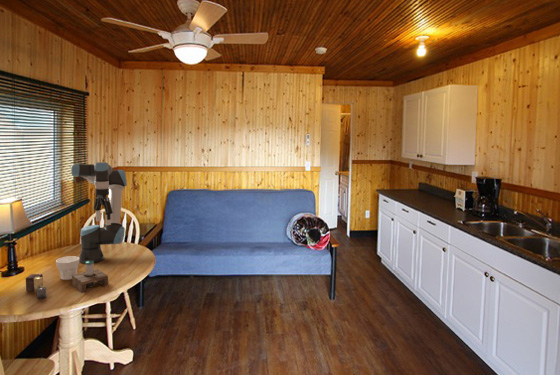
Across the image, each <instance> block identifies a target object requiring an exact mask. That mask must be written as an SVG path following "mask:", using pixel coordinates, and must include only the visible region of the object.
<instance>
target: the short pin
mask: <svg viewBox="0 0 560 375" xmlns="http://www.w3.org/2000/svg"><path fill="white" fill-rule="evenodd" d="M36 298H37V300H44V299H46V298H47V287H46V286H43V287H40V288H37V294H36Z"/></svg>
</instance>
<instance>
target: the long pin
mask: <svg viewBox="0 0 560 375" xmlns="http://www.w3.org/2000/svg"><path fill="white" fill-rule="evenodd" d="M84 264H85V272H86V278H89V277H93V276H94V270H95V268H94V265H95V263H94V262H93V261H92V260H90V261H86V262H85V263H84ZM91 286H92V287H95V281H94V282H91V283H87V284H86V288H91Z"/></svg>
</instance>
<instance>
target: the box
mask: <svg viewBox="0 0 560 375" xmlns="http://www.w3.org/2000/svg"><path fill="white" fill-rule="evenodd" d="M36 277H43V273H31V274H30V275H28V276H26V277H25V288H26V289H25V290H26V292H29V291H30V292H33V291H34V278H36ZM34 292H35V291H34Z"/></svg>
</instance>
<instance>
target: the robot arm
mask: <svg viewBox="0 0 560 375" xmlns="http://www.w3.org/2000/svg"><path fill="white" fill-rule="evenodd" d="M70 172H71V173H70V174H71V175H72V176H73V177H76V178H79V177H80V178H84V179H85V180H86V181H87V182H88V183H90V184H93V185H94V188H95V191H94V194H95V200H94V204H93V205H94V206H93V210H94V211H95V221H96V222H101V221H102V214H101V212H102V211H101V210H102V209H101V207H102V206H103V209H104V211H105V214H104V215H105V223H104V224H103V227H101V226H100V225H99V224H94V225H93V224H92V225H87V226H84V227H82V228H81V229H80V253H79V255H78V257H79V258H80V259H79V264H80V263H81V264H85V262H86V261H90V260H92V261H93V262H94V263H93V264H95V263H99V262H102V261H104V260H105V257H104V253H103V251H102V248H101V246H102V245H103V246H104V245H114V246H115V245H120V244H122V243H123V242H124V238H125V231H126V230H125V227H124V226H123V224H122V223H121V216H122V215H121V214H122V197H123V195H122V193H123V191H124V189H125V187H127V186H128V181H127V175H126V171H125V170H123V169H113V167H112V166H111V165H110V164H109V163H108V162H106V161H100V162H99V161H98V162H95V163H93V164H92V163H91V164H88V163H87V164H85V163H83V164H82V163H73V164H72V165H71V167H70Z"/></svg>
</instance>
